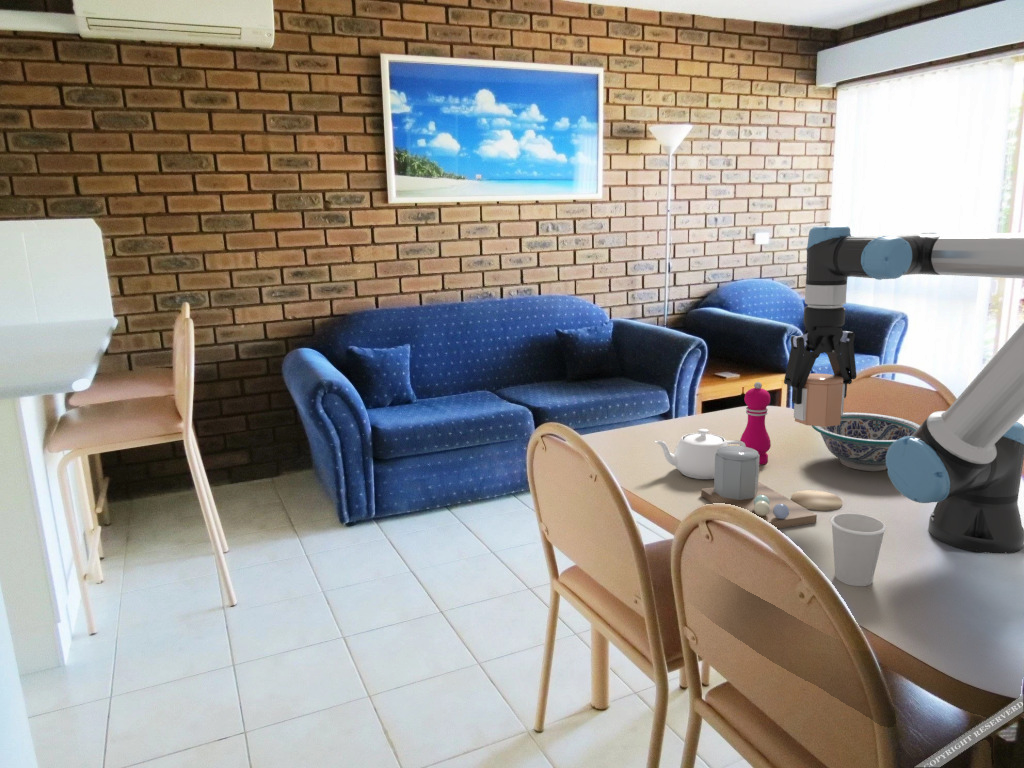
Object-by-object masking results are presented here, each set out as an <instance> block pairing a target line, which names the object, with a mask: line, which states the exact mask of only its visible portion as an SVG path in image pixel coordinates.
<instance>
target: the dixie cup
mask: <svg viewBox="0 0 1024 768" xmlns="http://www.w3.org/2000/svg"><path fill="white" fill-rule="evenodd" d="M829 522H830V524H831V529H832V532H831V533H832V545H833V546H832V547H833V559H834V560H833V564H834V576H835V578H836V579H837V580H838V581H839V582H841V583H843V584H845V585H849V586H853V587H867V586H870V585H871V584H872V583H873V580H874V575H875V572H876V567H877V565H878V559H879V555H880V551H881V547H882V543H883V540H884V539H883V538H884V534H885V532H886V531H887V525H886V524H885V523H884V522H883V521H882V520H880V519H878V518H876V517H874V516H870V515H867V514H863V513H856V512H855V513H854V512H842V513H837V514H835V515H833V516H832V517H831V518H830V521H829Z"/></svg>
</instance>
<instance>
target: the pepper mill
mask: <svg viewBox="0 0 1024 768" xmlns="http://www.w3.org/2000/svg"><path fill="white" fill-rule="evenodd" d="M762 386H763V385H762V382H759V381H757V382H754V385H753V387H752V388H750V389H748V390H747V391H746V393H745V394H744V398H743V399H744V403H745V404H746V406H747V407H745V409H746V411H745V413H746V414H747V424H746V427H745V429H744V430H743V433H742V434H741V437H740V440H739V441H742V442H744V443H745V445H746V447H748V448H752V449H754V450H756V451H758V454H759V455H760V457H759V466H761V465H766V464H767V463H768V462H769V454H768V453H767V452H768V451H770V449H771V447H772V445H771V444H772V443H771V438H770V435H769V433H768V431H767V427H766V416H767V415H768V413H769V412H768V408H767V407H768V406H769V405H770V403H771V394H770V393H769V391H767V390H766V389H764V388H762ZM739 446H741V445H740V444H739Z"/></svg>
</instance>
